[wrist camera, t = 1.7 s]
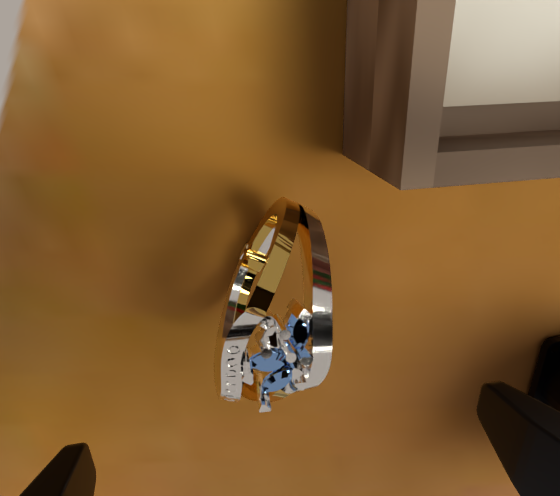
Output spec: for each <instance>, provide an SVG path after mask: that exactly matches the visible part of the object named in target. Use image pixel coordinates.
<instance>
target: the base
mask: <svg viewBox="0 0 560 496" xmlns="http://www.w3.org/2000/svg"><path fill="white" fill-rule="evenodd" d="M343 155H344V156H346V157H347V158H349V159H351V160H352V161H354V162H356V163H357V164H359V165H360V166H362V167H364V168H365V169H367V170H369V171H370V172H372V173H373V174H375V175H377V176H378V177H380V178H382V179H383V180H385V181H386V182H388V183H390V184H391V185H393V186H395V187H396V188H398V189H399V190H409V189H421V188H434V187H447V186H459V185H472V184H485V183H497V182H510V181H523V180H535V179H548V178H560V0H347V27H346V60H345V93H344V126H343Z"/></svg>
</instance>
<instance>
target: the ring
mask: <svg viewBox="0 0 560 496" xmlns="http://www.w3.org/2000/svg"><path fill="white" fill-rule="evenodd" d="M296 232H297V234H298V239H299V246H300V254H301V263H302V275H303V293H304V307H303V306H302V305H301V304H300V303H299V302H298V301H297V300H296V299H295V298H292V300H291V301H290V302H289V304H288V306H287V308H288V311H287V313H286V315H285V318H284V321H283V319H282V317H281V316H280V315H279V314H275V315H273V314H272V312H271V311H270V310H269V309H268V308H269V305H270V303H271V301H272V298H273V296H274V294H275V291H276V289H277V286H278V284H279V281H280V279H281V276H282V274H283V271H284V269H285V266H286V263H287V261H288V258H289V255H290V252H291V249H292V246H293V243H294V239H295V236H296ZM268 250H269V251H268ZM267 252H268V255H267V256H266V253H267ZM265 261H266V262H265ZM264 263H265V265H264ZM263 265H264V269H263V273H262V275H261V277H260V280H259V282H258V284H257V286H256V288H255V291H254V293H253V295H252V297H251V299H250V301H249V304H248V306H247V308H246V304H247V299H248V296H249V292H250V289H251V286H252V283H253V281H254V278H255V276H256V273H259V272H260V271H261V269H262V267H263ZM245 309H246V310H245ZM258 326H261V330H260V331H258V332H256V334H255V339H256V342H257V344H256V345H254V346H253V347H251V348H250V349H249V348H248V347H247V343H248V340H249V338H250V336H251V334H252V332H253V330H254V329H255V328H256V327H258ZM288 340H289V341H288ZM289 342H290V343H289ZM331 357H332V285H331V272H330V263H329V255H328V249H327V244H326V239H325V235H324V231H323V228H322V225H321V222H320V219H319V217H318V216H317V214H316V213H315V212H314V211H313V210H311V209H309V208H307V207H305V206H303V205H301V204H299V203H297V202H294V201H292V200H290V199H287V198H285V197H281V198H279V199H278V200H277V201H276V202H275V203H274V204H273V205H272V206H271V207H270V208H269V210H268V211H267V212H266V214H265V215H264V217H263V218H262V220H261V221H260V223H259V225H258V226H257V228H256V230H255V231H254V233H253V235H252V237H251V239H250V240H249V242H248V243H246V244H245V245H244V247H243V249H242V251H241V253H240V256H239V263H238V265H237V267H236V270H235V272H234V275H233V278H232V280H231V283H230V286H229V289H228V292H227V295H226V299H225V302H224V306H223V310H222V314H221V318H220V322H219V327H218V332H217V338H216V345H215V354H214V380H215V387H216V392H217V396H218V398H219V399H222V400H227V401H232V402H236V403H238V402H239V400H240V397H241V395H242V396H243V397H245V398H247V399H249V400H253V401H258V406H259V412H268V411H271V405H270V402H274V401H278V400H280V399H283V398H285V397H286V396H288V395H289V394H291V393H294V392H299V391H303V390H307V389H311V388H314V387H316V386H318V385H319V384H320V383H321V382H322V381H323V380H324V379H325V377H326V375H327V373H328V371H329V368H330V364H331ZM253 370H256V371H261V372H260V373H257V374H256V373H255V372H254V371H253Z"/></svg>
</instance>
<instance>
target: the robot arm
mask: <svg viewBox="0 0 560 496" xmlns="http://www.w3.org/2000/svg"><path fill="white" fill-rule="evenodd" d="M477 415H478V418H479V421H480V422H481V424H482V426H483V428H484V430H485V432H486V434H487V436H488V438H489V440H490V442H491V444H492V446H493V447H494V449H495V451H496V453H497V455H498V457H499V459H500V461H501V463H502V465H503V467H504V469H505V471H506V472H507V474H508V476H509V478H510V480H511V481H512V483H513V485H514V486H515V488H516V490H517V491H518V493H519V495H520V496H560V336H559V337H552V338H549V339H547V340H546V341H545V342H544V343H543V345H542V347H541V351H540V354H539V358H538V362H537V365H536V369H535V372H534V376H533V380H532V383H531V387H530V390H529V394H528V395H527V394H525V393H523V392H521V391H519V390H517V389H515V388H513V387H512V386H510V385H508V384H506V383H504V382H501V381H494V382H487V383H484V384H483V385H482V387H481V390H480V395H479V400H478V405H477ZM95 483H96V469H95V466H94V462H93V459H92V456H91V453H90V449H89V447H88V445H87V444H86V443H77V444H71V445H67V446H65V447H64V448H62V449H61V450H60V452H59V453H58V454H57V455H56V456H55V457H54V458H53V459H52V460H51V461H50V463H49V464H48V465H47V466H46V467H45V468H44V469H43V470H42V471H41V472H40V474H39V475H38V476H37V477H36V478H35V479H34V480H33V481H32V482H31V483H30V485H29V486H28V487H27V488H26V489H25V490H24V491H23V492H22V493H21V494H20V496H94V490H95Z"/></svg>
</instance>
